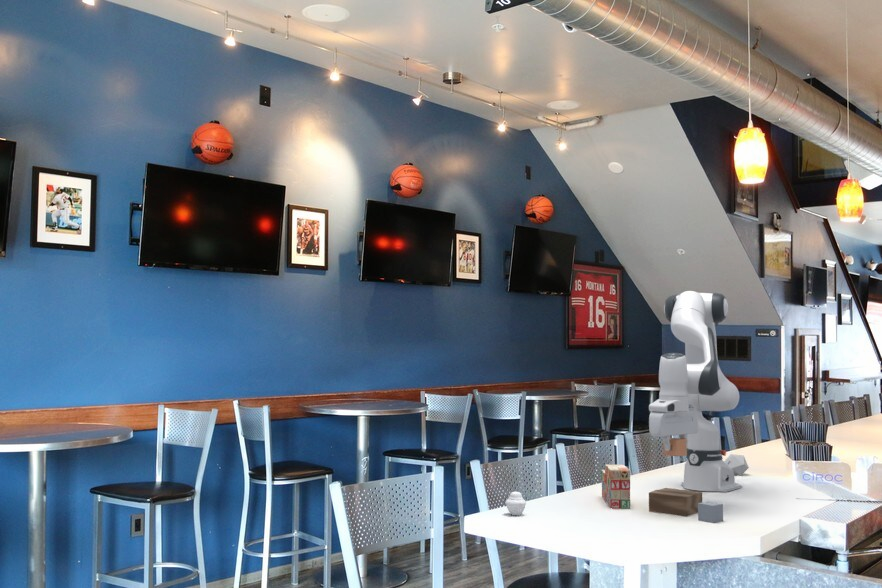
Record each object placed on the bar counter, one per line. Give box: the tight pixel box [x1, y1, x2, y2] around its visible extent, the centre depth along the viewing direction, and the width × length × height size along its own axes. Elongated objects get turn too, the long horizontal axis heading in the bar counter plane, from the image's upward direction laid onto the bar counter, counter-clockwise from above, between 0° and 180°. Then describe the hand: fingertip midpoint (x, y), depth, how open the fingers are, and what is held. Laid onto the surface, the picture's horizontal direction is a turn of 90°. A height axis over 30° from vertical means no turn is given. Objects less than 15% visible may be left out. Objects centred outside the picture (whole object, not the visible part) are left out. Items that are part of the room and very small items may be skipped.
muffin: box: [505, 490, 527, 516], centre depth 239 cm, size 6×6×7 cm
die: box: [723, 453, 750, 477], centre depth 324 cm, size 8×9×10 cm
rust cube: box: [662, 437, 687, 458], centre depth 247 cm, size 5×5×5 cm
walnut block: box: [648, 487, 703, 518], centre depth 246 cm, size 12×12×6 cm
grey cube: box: [697, 501, 724, 524], centre depth 232 cm, size 5×5×5 cm
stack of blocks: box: [600, 464, 631, 510], centre depth 260 cm, size 21×6×12 cm, turn 176°
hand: (674, 449), depth 247 cm, fingers closed on rust cube, 5 cm apart
